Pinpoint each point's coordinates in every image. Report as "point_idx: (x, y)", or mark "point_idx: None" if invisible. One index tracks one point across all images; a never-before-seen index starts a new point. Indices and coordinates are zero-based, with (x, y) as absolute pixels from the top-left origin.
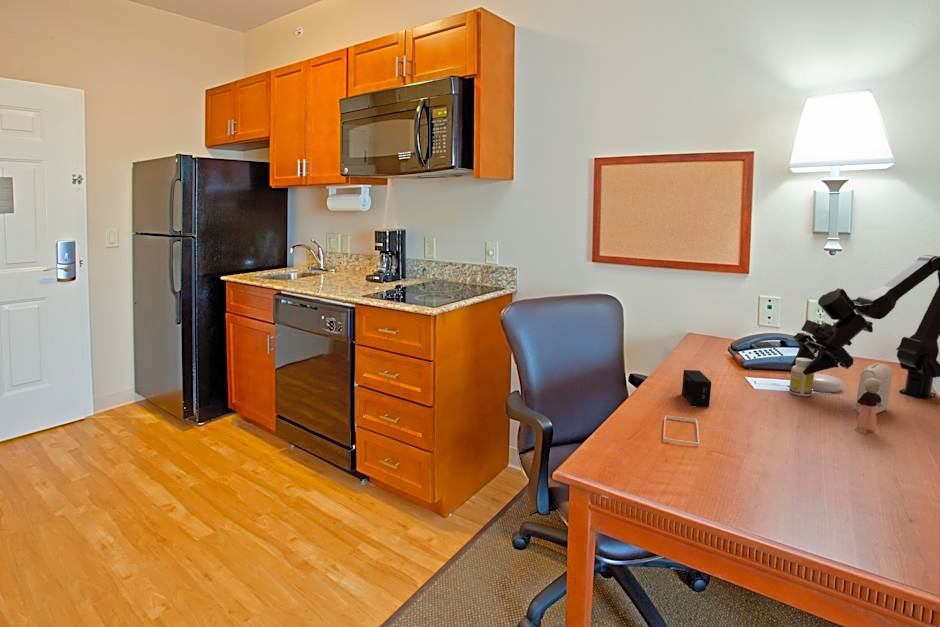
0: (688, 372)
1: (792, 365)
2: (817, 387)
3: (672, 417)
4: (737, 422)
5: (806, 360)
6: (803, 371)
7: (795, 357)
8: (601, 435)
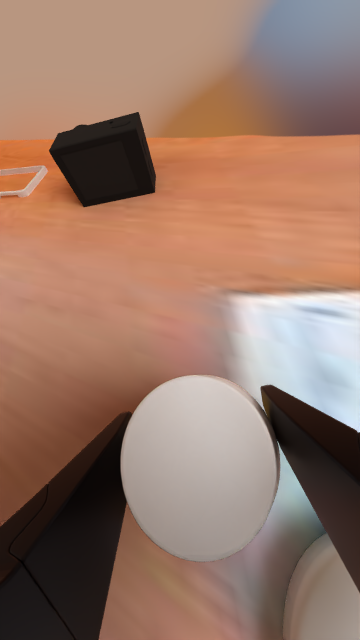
0: (118, 119)
1: (263, 392)
2: (295, 591)
3: (40, 172)
4: (14, 237)
5: (151, 458)
6: (125, 413)
7: (333, 421)
8: (17, 141)
